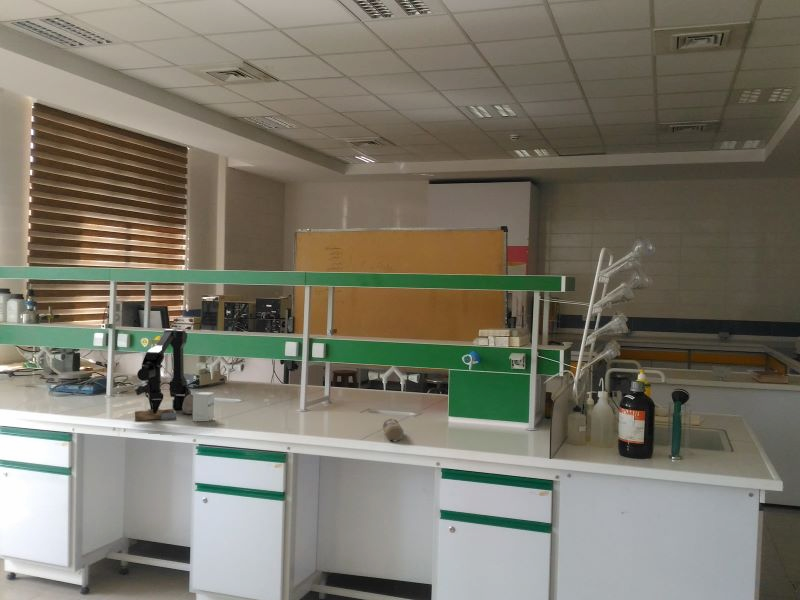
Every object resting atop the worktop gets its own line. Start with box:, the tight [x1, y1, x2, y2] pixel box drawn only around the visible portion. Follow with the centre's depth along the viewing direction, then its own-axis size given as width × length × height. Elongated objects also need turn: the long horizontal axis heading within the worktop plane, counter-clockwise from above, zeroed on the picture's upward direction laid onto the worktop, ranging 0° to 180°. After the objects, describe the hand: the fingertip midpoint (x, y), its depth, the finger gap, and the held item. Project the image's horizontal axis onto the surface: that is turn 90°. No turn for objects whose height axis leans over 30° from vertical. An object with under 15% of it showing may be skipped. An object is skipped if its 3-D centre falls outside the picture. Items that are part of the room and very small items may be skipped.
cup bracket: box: [160, 409, 177, 421], centre depth 341 cm, size 7×7×3 cm
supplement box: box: [192, 391, 215, 422], centre depth 337 cm, size 7×7×13 cm
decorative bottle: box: [382, 418, 404, 441], centre depth 314 cm, size 26×8×7 cm, turn 6°
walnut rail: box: [134, 407, 173, 421], centre depth 338 cm, size 16×4×4 cm, turn 110°
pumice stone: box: [182, 394, 193, 415], centre depth 352 cm, size 15×8×10 cm, turn 71°
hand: (153, 411), depth 338 cm, fingers open, 9 cm apart
